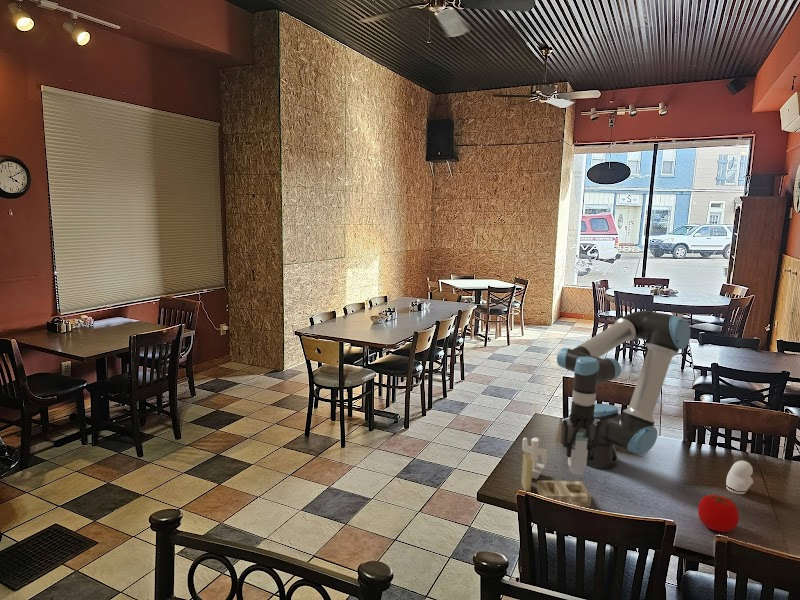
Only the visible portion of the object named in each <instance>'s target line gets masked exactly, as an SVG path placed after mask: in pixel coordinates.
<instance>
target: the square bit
mask: <svg viewBox="0 0 800 600" xmlns="http://www.w3.org/2000/svg"><path fill="white" fill-rule="evenodd" d="M587 441H588V437H586V436H585V434H584V431H583V432H579V431H578V432H577V435H576V436H575V441H574V444H573V449H574V456H573V466H572V467H570V466H569V465H568V471H569V472H570V474H571V475H572V476H585V459H586V450H587Z"/></svg>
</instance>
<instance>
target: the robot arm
mask: <svg viewBox="0 0 800 600" xmlns="http://www.w3.org/2000/svg"><path fill="white" fill-rule="evenodd" d="M690 338H691V327H690V324H689V321H688V320H686V319H685V318H684V317H680V316H677V315H674V314H667V313H666V314H665V313H662V312H655V311H652V310H640V311H634V312H632V313H631V312H630V313H628V314H626V315H623V316H621V317H620V318H618V319H616V320H615V321H614V323H613V325H611V326H609V327H608V328H606V329H605V330H603V331H601V332H599V333H598V334H596V335H594V336H593V337H591V338H589V339H588V340H586V341H585V342H582V343H581V344H579V345H578V346H576V347H575V348H572V349H571V348H570V347H568V348H567V347H563V348H561V349H560V350H559V351H558V353H557V354H556V363H557V365H558V366H559V367H560V368H563V369H565V370H567V371H571V372H574V376H573V385H572V386H573V387H572V397H571V406H570V414H569V416H568V417H566V418H564V417H562V418H561V419H560V421H561V424H562V431H561V432H562V433H561V445H562V446H563V448H566V451H565V452H566V453H565V454H566V457H567V458H568V459H567V464H568V467H569V466H570V467H572V466H573V456H574V449H573V444H574V441H575V436H576V435H577V432H579V430H580V429H583V433H584V434H585V436H586V437H588V441H587V450H586V459H585V468H587V466H589V467H592V468H596V469H604V470H605V469H613V468H615V467H617V465H618V454H617V450H616V447H615V445H616V446H618V447H621V448H622V449H625V450H627V451H629V452H631V453H635V454H637V455H644V454H646V453H648V452H649V451H651V449H653V447H654V446H655V444H656V442H657V439H658V429H657V428H656V427H655V426H654V425H655V424H656V421H655V420H654V418H653V415H654V411H655V409H656V406H657V403H658V401H659V397H660V394H661V391H662V388H663V385H664V381H665V378H666V375H667V373H668V371H669V370H668V369H669V367H670V364H671V361H672V358H673V357H674V356H676V355H678V354H679V351H680V350H683V349H686V348H687V346H688V345H689V342H690ZM635 339H636V340H637V339H638V340H639V339H640V340H645V341H646V342H645V346H646V348H647V352H646V354H645V358H644V360H643V363H642V367H641V370H640V373H639V375H638V377H637V382H636V384H635V388H634V390H633V393H632V396H631V399H630V401H629V402H630V403H629V405H628V407H627V408H626V409H623V410H622V413H621V414H620V413H619V409H618V407H617V406H616V405H613V404H605V403H596V397H597V389H598V385H599V384H601V383H604V382H609V381H613V380H615V379H617V378H619V377H620V375H621V372H622V366H621V364H620V363H619V361H618V360H617V359H616V358H613V357H610V358H609V357H605V358H601V357H603V356H604V355H606V354H607V353H609V352H611V351H612V350H614V349H615V348H616V347H618V346H619V345H622V344H623V343H625V342H631V341H633V340H635ZM570 422H571V429H570V431H569V425H570Z"/></svg>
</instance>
